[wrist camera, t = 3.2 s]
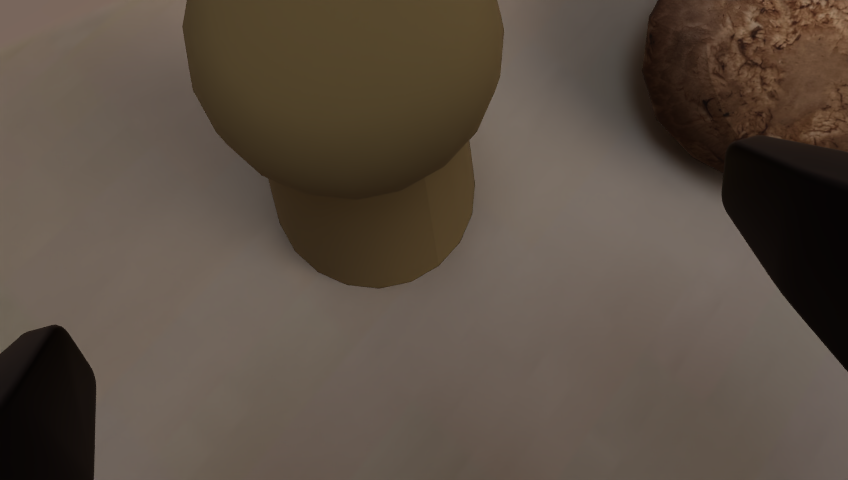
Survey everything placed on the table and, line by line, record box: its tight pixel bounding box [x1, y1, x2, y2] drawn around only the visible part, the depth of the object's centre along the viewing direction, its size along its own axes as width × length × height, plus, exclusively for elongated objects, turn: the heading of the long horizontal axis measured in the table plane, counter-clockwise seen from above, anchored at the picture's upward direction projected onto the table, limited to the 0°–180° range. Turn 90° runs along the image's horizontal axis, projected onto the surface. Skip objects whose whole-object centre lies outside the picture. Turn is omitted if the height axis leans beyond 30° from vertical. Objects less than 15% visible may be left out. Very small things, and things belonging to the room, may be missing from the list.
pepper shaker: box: [182, 0, 504, 288], centre depth 15 cm, size 6×6×11 cm
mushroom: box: [642, 0, 848, 173], centre depth 19 cm, size 8×8×6 cm
